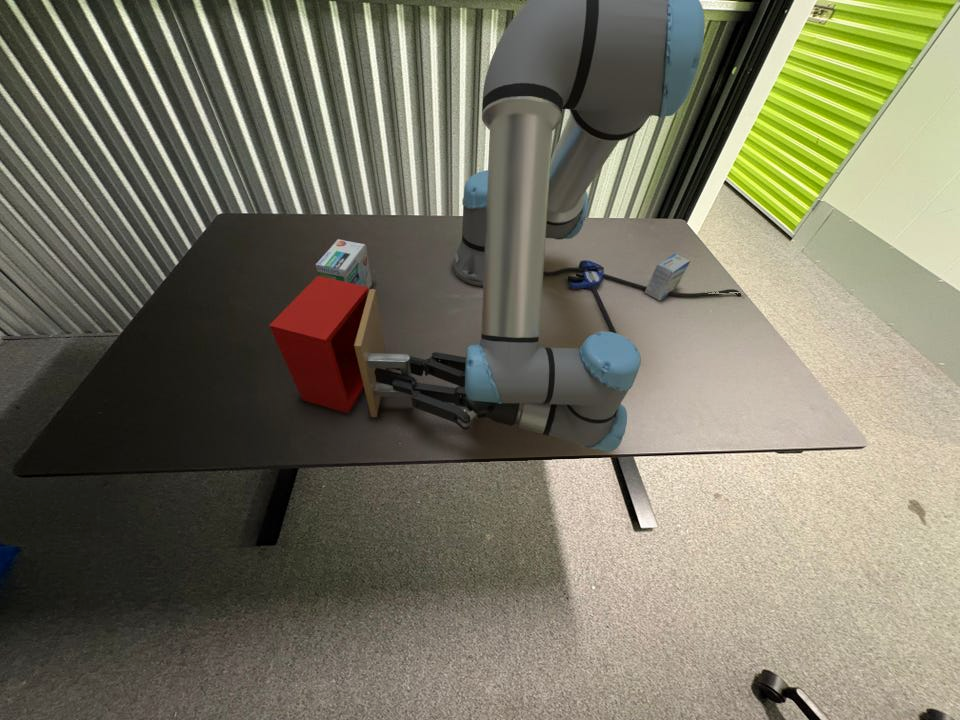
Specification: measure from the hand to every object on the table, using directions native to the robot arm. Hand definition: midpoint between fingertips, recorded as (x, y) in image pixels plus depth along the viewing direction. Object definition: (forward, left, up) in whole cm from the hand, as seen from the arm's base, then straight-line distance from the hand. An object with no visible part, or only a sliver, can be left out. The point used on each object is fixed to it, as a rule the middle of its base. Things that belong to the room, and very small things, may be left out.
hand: (381, 367), depth 64 cm
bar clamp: (-51, -18, -9) cm, 54 cm away
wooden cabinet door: (-2, -2, -9) cm, 9 cm away
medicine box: (-70, -21, -9) cm, 73 cm away
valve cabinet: (+7, -6, -9) cm, 13 cm away
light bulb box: (+5, -32, -9) cm, 33 cm away
